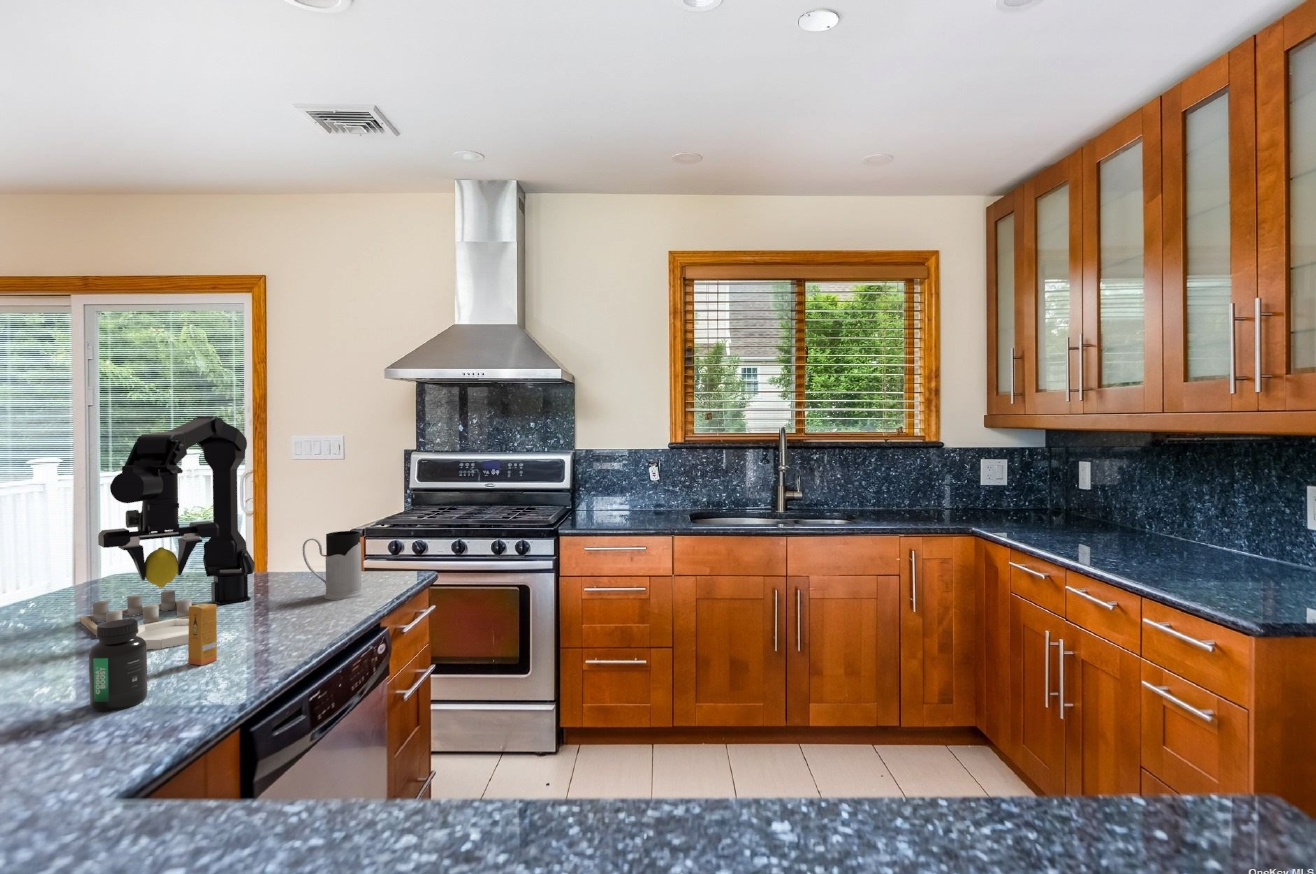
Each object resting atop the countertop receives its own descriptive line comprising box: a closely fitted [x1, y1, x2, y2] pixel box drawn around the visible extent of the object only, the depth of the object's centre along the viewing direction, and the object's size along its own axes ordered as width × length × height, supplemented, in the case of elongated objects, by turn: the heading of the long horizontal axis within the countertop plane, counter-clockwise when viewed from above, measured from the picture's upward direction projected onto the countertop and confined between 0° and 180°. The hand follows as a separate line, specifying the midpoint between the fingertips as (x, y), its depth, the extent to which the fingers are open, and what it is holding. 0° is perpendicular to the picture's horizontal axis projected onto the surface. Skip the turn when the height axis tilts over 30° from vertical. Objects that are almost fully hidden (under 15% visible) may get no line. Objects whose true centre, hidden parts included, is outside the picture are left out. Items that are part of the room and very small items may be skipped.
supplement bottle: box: [88, 618, 148, 712], centre depth 104 cm, size 7×7×12 cm
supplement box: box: [187, 603, 218, 666], centre depth 122 cm, size 3×3×10 cm
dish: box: [136, 618, 189, 650], centre depth 136 cm, size 14×14×2 cm
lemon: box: [144, 546, 178, 589], centre depth 137 cm, size 6×6×8 cm
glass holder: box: [302, 530, 364, 601], centre depth 170 cm, size 9×14×15 cm, turn 89°
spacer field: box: [79, 589, 193, 637], centre depth 149 cm, size 18×18×4 cm
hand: (161, 577), depth 137 cm, fingers closed on lemon, 5 cm apart
